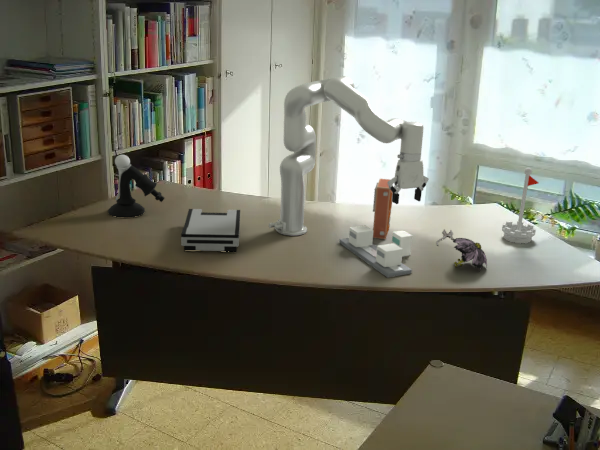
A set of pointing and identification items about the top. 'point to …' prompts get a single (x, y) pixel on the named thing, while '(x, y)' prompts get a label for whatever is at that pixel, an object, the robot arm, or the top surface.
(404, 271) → the rail board
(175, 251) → the top surface
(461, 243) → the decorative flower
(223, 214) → the game console
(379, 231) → the control panel
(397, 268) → the din rail
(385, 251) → the block
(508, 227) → the flag stand
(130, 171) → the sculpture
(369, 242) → the module left
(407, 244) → the block
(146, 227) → the top surface
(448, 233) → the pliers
